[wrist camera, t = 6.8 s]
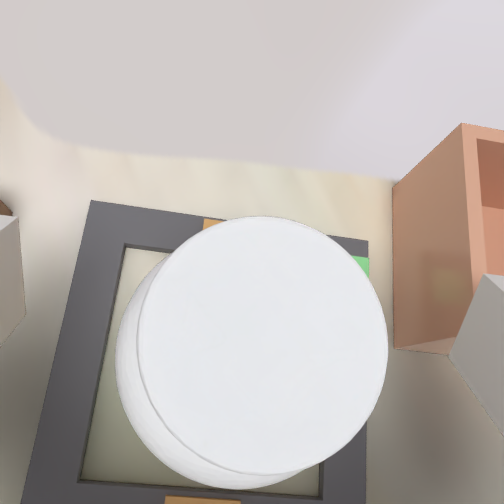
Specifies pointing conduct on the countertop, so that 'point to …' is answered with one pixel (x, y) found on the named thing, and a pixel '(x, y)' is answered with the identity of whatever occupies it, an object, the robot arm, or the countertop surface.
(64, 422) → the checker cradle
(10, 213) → the brown rectangular tray
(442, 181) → the pink open box
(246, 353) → the supplement bottle
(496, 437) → the countertop surface
